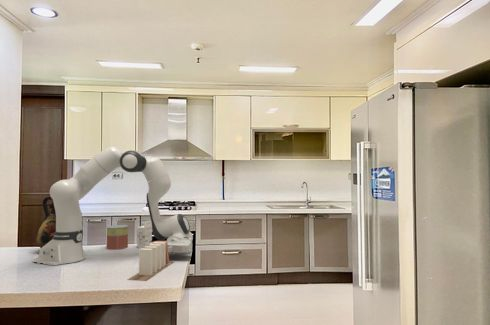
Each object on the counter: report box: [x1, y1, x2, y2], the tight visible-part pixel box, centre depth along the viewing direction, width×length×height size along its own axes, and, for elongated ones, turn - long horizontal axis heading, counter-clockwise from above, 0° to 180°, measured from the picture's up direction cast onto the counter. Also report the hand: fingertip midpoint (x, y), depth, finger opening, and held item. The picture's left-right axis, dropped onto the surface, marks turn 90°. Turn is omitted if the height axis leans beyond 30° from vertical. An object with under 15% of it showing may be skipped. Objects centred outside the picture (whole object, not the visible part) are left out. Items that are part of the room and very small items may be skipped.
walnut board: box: [127, 261, 175, 282], centre depth 129 cm, size 8×26×1 cm, turn 170°
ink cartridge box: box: [136, 219, 153, 249], centre depth 178 cm, size 9×5×15 cm, turn 168°
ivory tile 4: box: [143, 246, 157, 272], centre depth 127 cm, size 2×5×10 cm, turn 80°
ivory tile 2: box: [153, 241, 166, 267], centre depth 135 cm, size 2×5×10 cm, turn 80°
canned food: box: [106, 224, 129, 251], centre depth 176 cm, size 11×11×12 cm
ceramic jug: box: [36, 195, 56, 249], centre depth 168 cm, size 17×15×30 cm
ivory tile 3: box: [149, 244, 162, 269], centre depth 131 cm, size 2×5×10 cm, turn 80°
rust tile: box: [155, 240, 170, 264], centre depth 138 cm, size 2×5×10 cm, turn 80°
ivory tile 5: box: [138, 248, 153, 275], centre depth 123 cm, size 2×5×10 cm, turn 80°
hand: (163, 250), depth 139 cm, fingers closed
